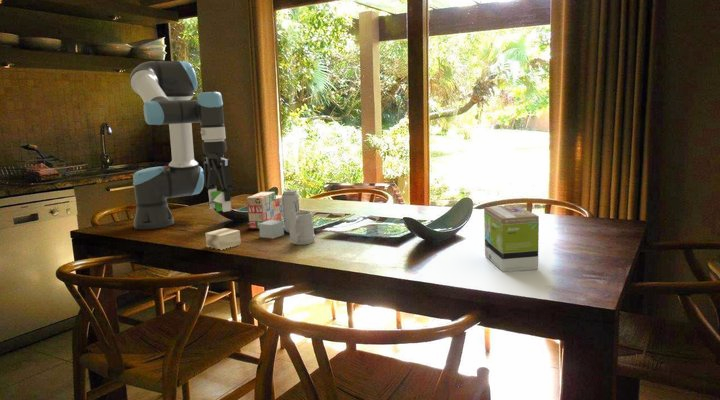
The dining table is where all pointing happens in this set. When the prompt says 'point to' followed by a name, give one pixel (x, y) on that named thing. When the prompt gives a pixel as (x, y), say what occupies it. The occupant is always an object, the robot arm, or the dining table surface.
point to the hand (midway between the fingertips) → (220, 209)
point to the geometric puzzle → (217, 200)
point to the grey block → (271, 229)
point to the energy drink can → (289, 206)
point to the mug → (301, 228)
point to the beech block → (223, 238)
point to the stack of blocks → (264, 208)
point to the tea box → (511, 238)
